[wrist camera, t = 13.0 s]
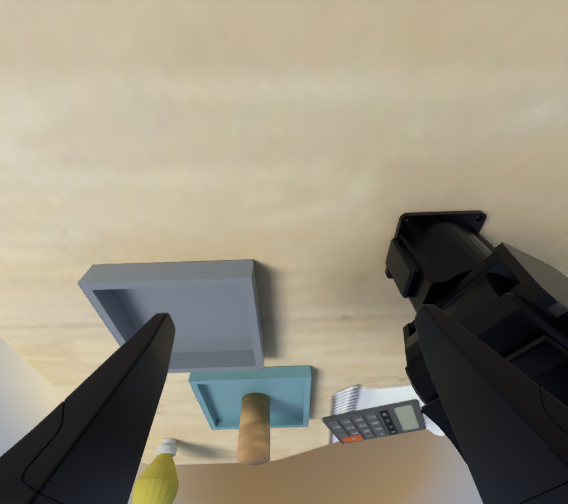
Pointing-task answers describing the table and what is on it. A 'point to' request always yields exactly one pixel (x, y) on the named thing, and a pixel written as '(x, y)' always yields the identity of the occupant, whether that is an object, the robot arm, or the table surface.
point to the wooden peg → (254, 429)
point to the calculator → (376, 422)
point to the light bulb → (158, 478)
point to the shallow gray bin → (185, 309)
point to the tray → (271, 381)
